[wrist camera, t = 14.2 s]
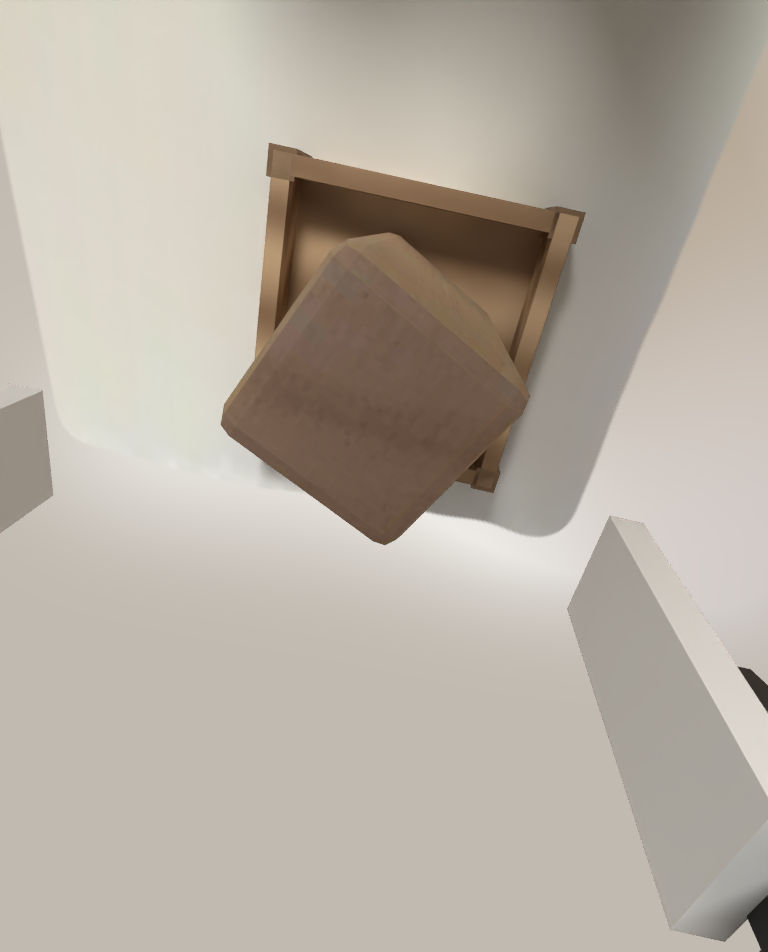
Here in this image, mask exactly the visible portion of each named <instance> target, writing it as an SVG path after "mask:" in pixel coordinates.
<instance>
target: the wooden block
mask: <svg viewBox="0 0 768 952" xmlns="http://www.w3.org/2000/svg"><path fill="white" fill-rule="evenodd" d="M529 397H530V396H529V394H528V392H527V389H526V387H525V385H524V383H523V381H522V379H521V377H520V375H519V373H518V371H517V369H516V367H515V365H514V363H513V362H512V360H511V358H510V356H509V354H508V352H507V350H506V348H505V346H504V345H503V343H502V341H501V339H500V337H499V335H498V333H497V331H496V329H495V327H494V326H493V324H492V322H491V320H490V318H489V316H488V314H487V313H486V312H485V311H484V310H483V309H482V308H481V307H479V306H478V305H477V304H476V303H475V302H474V301H473V300H472V299H470V298H469V297H468V296H467V295H466V294H465V293H464V292H463V291H461V290H460V289H459V288H458V287H457V286H456V285H455V284H454V283H453V282H451V281H450V280H449V279H448V278H447V277H446V276H445V275H444V274H442V273H441V272H440V271H439V270H438V269H437V268H436V267H435V266H433V265H432V264H431V263H430V262H429V261H428V260H427V259H426V258H424V257H423V256H422V255H421V254H420V253H419V252H418V251H417V250H415V249H414V248H413V247H412V246H411V245H410V244H409V243H408V242H407V241H405V240H404V239H403V238H402V237H401V236H399V235H396V234H393V233H390V232H388V233H382V234H376V235H370V236H364V237H357V238H351V239H347V240H346V241H344V242H342V243H341V244H339V245H337V246H336V247H334V248H333V249H331V250H330V251H329V253H328V254H327V256H326V257H325V259H324V260H323V262H322V263H321V265H320V266H319V267H318V269H317V270H316V272H315V273H314V275H313V276H312V278H311V279H310V281H309V282H308V283H307V285H306V286H305V288H304V289H303V291H302V292H301V294H300V295H299V296H298V298H297V299H296V301H295V302H294V304H293V305H292V307H291V308H290V310H289V311H288V312H287V314H286V315H285V317H284V318H283V320H282V321H281V323H280V324H279V326H278V327H277V328H276V330H275V331H274V333H273V334H272V336H271V337H270V339H269V340H268V342H267V343H266V344H265V346H264V347H263V349H262V350H261V352H260V353H259V355H258V356H257V357H256V359H255V360H254V362H253V363H252V365H251V366H250V368H249V369H248V371H247V372H246V373H245V375H244V376H243V378H242V379H241V381H240V382H239V384H238V385H237V387H236V388H235V389H234V391H233V392H232V394H231V395H230V397H229V398H228V400H227V401H226V403H225V404H224V408H223V414H222V421H221V426H222V427H223V428H224V430H225V431H226V432H227V434H228V435H229V436H230V437H231V438H233V439H234V440H235V441H237V442H238V443H240V444H241V445H242V446H244V447H245V448H246V449H248V450H249V451H251V452H252V453H253V454H255V455H256V456H257V457H259V458H260V459H261V460H263V461H264V462H266V463H267V464H268V465H270V466H271V467H272V468H274V469H275V470H277V471H278V472H279V473H281V474H282V475H283V476H285V477H286V478H287V479H289V480H290V481H292V482H293V483H294V484H296V485H297V486H298V487H300V488H301V489H303V490H304V491H305V492H307V493H308V494H309V495H311V496H312V497H313V498H315V499H316V500H318V501H319V502H320V503H322V504H323V505H324V506H326V507H327V508H329V509H330V510H331V511H333V512H334V513H335V514H337V515H338V516H339V517H341V518H342V519H344V520H345V521H346V522H348V523H349V524H351V525H352V526H353V527H355V528H356V529H357V530H359V531H360V532H361V533H363V534H364V535H365V536H367V537H368V538H370V539H371V540H372V541H374V542H377V543H380V544H383V545H386V544H388V543H390V542H392V541H394V540H396V539H397V538H398V537H400V536H401V535H402V534H403V533H404V532H405V531H406V530H407V529H408V528H409V527H410V526H411V525H412V524H413V523H414V522H415V521H416V520H417V519H418V518H419V517H420V516H421V515H422V514H423V513H424V512H425V511H426V510H427V509H428V508H429V507H430V506H431V505H432V504H433V503H434V502H435V501H436V500H437V499H438V498H439V497H440V496H441V495H442V494H443V493H444V492H445V491H446V490H447V489H448V488H449V487H450V486H451V485H452V484H453V483H454V482H455V481H456V480H457V479H458V478H459V477H460V476H461V475H462V474H463V473H464V472H465V471H466V470H467V469H468V468H469V467H470V466H471V465H472V464H473V463H474V462H475V461H476V460H477V459H478V458H479V457H480V456H481V455H482V454H483V453H484V452H485V451H486V450H487V449H488V448H489V447H490V446H491V445H492V444H493V443H494V442H495V441H496V440H497V439H498V438H499V437H500V436H501V435H502V434H503V433H504V432H505V431H506V430H507V429H508V428H509V427H510V426H511V425H512V424H513V423H514V422H515V421H516V420H517V419H518V418H519V417H520V416H521V415H522V413H523V411H524V409H525V407H526V404H527V402H528V400H529Z"/></svg>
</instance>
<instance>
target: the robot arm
mask: <svg viewBox="0 0 768 952" xmlns="http://www.w3.org/2000/svg"><path fill="white" fill-rule="evenodd" d="M52 495H53V489H52V479H51V469H50V459H49V450H48V440H47V430H46V421H45V410H44V401H43V391H42V390H37V389H33V388H28V387H24V386H19V385H14V384H10V383H9V384H7V385H4V386H1V387H0V533H1V532H2V531H4V530H5V529H7V528H8V527H9V526H11V525H12V524H14V523H15V522H16V521H18V520H19V519H20V518H22V517H23V516H25V515H26V514H27V513H29V512H30V511H32V510H33V509H35V508H36V507H37V506H39V505H40V504H41V503H43V502H44V501H46V500H47V499H49V498H50V497H51V496H52ZM568 612H569V616H570V618H571V622H572V625H573V628H574V631H575V634H576V637H577V641H578V644H579V647H580V650H581V653H582V656H583V659H584V662H585V666H586V669H587V672H588V675H589V678H590V681H591V684H592V687H593V690H594V694H595V697H596V700H597V703H598V706H599V709H600V712H601V715H602V718H603V722H604V725H605V728H606V731H607V734H608V737H609V740H610V743H611V747H612V750H613V753H614V756H615V759H616V762H617V765H618V768H619V771H620V775H621V778H622V781H623V784H624V787H625V790H626V793H627V797H628V800H629V803H630V806H631V809H632V812H633V815H634V818H635V821H636V825H637V828H638V831H639V834H640V837H641V840H642V843H643V847H644V849H645V853H646V856H647V859H648V862H649V865H650V868H651V871H652V875H653V878H654V881H655V884H656V887H657V890H658V893H659V896H660V899H661V903H662V906H663V909H664V912H665V915H666V918H667V921H668V925H669V928H670V930H674V931H679V932H684V933H688V934H692V935H697V936H702V937H706V938H710V939H715V940H720V941H724V942H725V941H726V940H727V939H728V938H729V937H730V936H731V935H732V934H733V933H734V932H735V931H736V930H737V929H738V928H739V927H740V926H741V925H742V924H743V923H744V922H745V921H746V920H747V919H748V920H749V923H750V925H751V927H752V930H753V932H754V934H755V936H756V938H757V941H758V943H759V946H760V948H761V951H760V952H768V685H767V684H766V683H765V682H764V681H762V680H761V679H760V678H759V677H758V676H757V675H756V674H755V673H754V672H753V671H752V670H751V669H746V668H742V667H737V666H736V664H735V663H734V661H733V660H732V658H731V657H730V655H729V653H728V652H727V650H726V649H725V647H724V646H723V644H722V643H721V641H720V640H719V638H718V637H717V635H716V634H715V632H714V631H713V629H712V628H711V626H710V625H709V623H708V622H707V620H706V619H705V617H704V615H703V614H702V612H701V611H700V609H699V608H698V606H697V605H696V604H695V602H694V600H693V599H692V597H691V596H690V594H689V593H688V591H687V590H686V588H685V587H684V585H683V584H682V582H681V581H680V579H679V577H678V576H677V574H676V573H675V572H674V570H673V568H672V567H671V565H670V564H669V562H668V561H667V559H666V558H665V556H664V555H663V553H662V551H661V550H660V548H659V547H658V545H657V544H656V542H655V541H654V539H653V538H652V536H651V535H650V533H649V532H648V530H647V529H646V527H645V526H644V524H643V523H640V522H635V521H631V520H625V519H622V518H617V517H613V516H610V517H609V519H608V521H607V523H606V525H605V528H604V530H603V532H602V534H601V536H600V539H599V541H598V543H597V545H596V547H595V549H594V551H593V554H592V556H591V558H590V560H589V562H588V565H587V567H586V569H585V571H584V574H583V576H582V578H581V580H580V582H579V585H578V587H577V589H576V591H575V593H574V595H573V597H572V600H571V602H570V604H569V606H568Z"/></svg>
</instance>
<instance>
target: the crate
mask: <svg viewBox="0 0 768 952" xmlns="http://www.w3.org/2000/svg"><path fill="white" fill-rule="evenodd" d="M266 176H269V177H271V181H270V192H269V204H268V215H267V226H266V237H265V249H264V260H263V271H262V282H261V294H260V305H259V316H258V327H257V339H256V350H255V359H256V357H257V356H258V355H259V353H260V352H261V350H262V349H263V347H264V346H265V344H266V343H267V342H268V340H269V339H270V337H271V336H272V334H273V333H274V331H275V330H276V328H277V327H278V326H279V324H280V323H281V321H282V320H283V318H284V317H285V315H286V314H287V312H288V311H289V310H290V308H291V307H292V305H293V304H294V302H295V301H296V299H297V298H298V296H299V295H300V294H301V292H302V291H303V289H304V288H305V286H306V285H307V283H308V282H309V281H310V279H311V278H312V276H313V275H314V273H315V272H316V270H317V269H318V267H319V266H320V265H321V263H322V262H323V260H324V259H325V257H326V256H327V254H328V253H329V251H330V250H331V249H333V248H334V247H336V246H337V245H339V244H341V243H342V242H344V241H346V240H347V239H351V238H357V237H364V236H370V235H376V234H382V233H388V232H390V233H393V234H396V235H399V236H401V237H402V238H403V239H404V240H405V241H407V242H408V243H409V244H410V245H411V246H412V247H413V248H414V249H415V250H417V251H418V252H419V253H420V254H421V255H422V256H423V257H424V258H426V259H427V260H428V261H429V262H430V263H431V264H432V265H433V266H435V267H436V268H437V269H438V270H439V271H440V272H441V273H442V274H444V275H445V276H446V277H447V278H448V279H449V280H450V281H451V282H453V283H454V284H455V285H456V286H457V287H458V288H459V289H460V290H461V291H463V292H464V293H465V294H466V295H467V296H468V297H469V298H470V299H472V300H473V301H474V302H475V303H476V304H477V305H478V306H479V307H481V308H482V309H483V310H484V311H485V312H486V313H487V314H488V316H489V318H490V320H491V322H492V324H493V326H494V327H495V329H496V331H497V333H498V335H499V337H500V339H501V341H502V343H503V345H504V346H505V348H506V350H507V352H508V354H509V356H510V358H511V360H512V362H513V363H514V365H515V367H516V369H517V371H518V373H519V375H520V377H521V379H522V381H523V383H524V385H525V382H526V379H527V376H528V373H529V370H530V367H531V364H532V361H533V358H534V355H535V352H536V348H537V345H538V342H539V339H540V336H541V333H542V330H543V327H544V324H545V321H546V318H547V315H548V312H549V309H550V305H551V302H552V299H553V296H554V293H555V290H556V287H557V284H558V281H559V278H560V275H561V272H562V269H563V266H564V262H565V259H566V256H567V253H568V250H569V247H570V244H571V243H572V244H576V241H577V238H578V235H579V232H580V229H581V226H582V223H583V220H584V217H585V214H586V213H585V212H580V211H576V210H571V209H566V208H562V207H550V208H546V209H541V208H536V207H532V206H527V205H523V204H518V203H513V202H509V201H504V200H500V199H495V198H491V197H486V196H482V195H477V194H473V193H468V192H464V191H459V190H455V189H450V188H445V187H441V186H436V185H432V184H427V183H423V182H418V181H414V180H409V179H405V178H400V177H396V176H391V175H387V174H382V173H378V172H373V171H368V170H364V169H359V168H355V167H350V166H346V165H341V164H337V163H332V162H328V161H323V160H319V159H314V158H312V156H310V155H308V154H306V153H304V152H302V151H300V150H298V149H295V148H290V147H285V146H281V145H276V144H272V143H269V149H268V161H267V173H266ZM510 428H511V426H510V427H509V428H508V429H507V430H506V431H505V432H504V433H503V434H502V435H501V436H500V437H499V438H498V439H497V440H496V441H495V442H494V443H493V444H492V445H491V446H490V447H489V448H488V449H487V450H486V451H485V452H484V453H483V454H482V455H481V456H480V457H479V458H478V459H477V460H476V461H475V462H474V463H473V464H472V465H471V466H470V467H469V468H468V469H467V470H466V471H465V472H464V473H463V474H462V475H461V476H460V477H459V478H458V479H457V480H456V481H458V482H462V483H467V484H471V488H473V489H478V490H483V491H487V492H492V493H494V490H495V487H496V484H497V481H498V478H499V475H500V470H499V466H498V465H499V462H500V459H501V456H502V453H503V450H504V447H505V444H506V441H507V438H508V434H509V431H510Z"/></svg>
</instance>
